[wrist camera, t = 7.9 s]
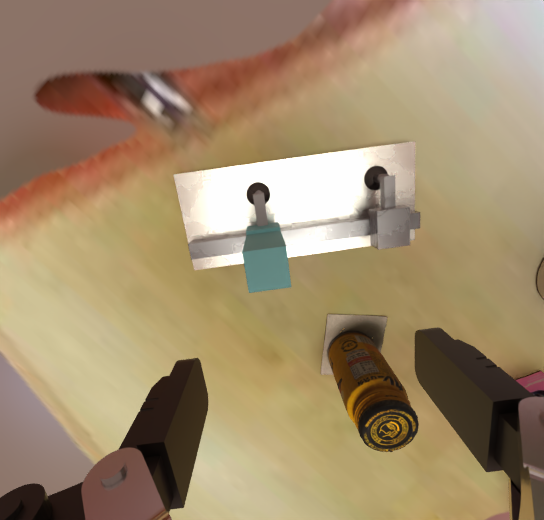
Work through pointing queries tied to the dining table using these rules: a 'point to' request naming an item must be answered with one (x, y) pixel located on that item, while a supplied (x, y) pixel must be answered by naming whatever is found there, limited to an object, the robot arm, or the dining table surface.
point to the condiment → (368, 381)
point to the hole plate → (303, 203)
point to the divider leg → (265, 252)
